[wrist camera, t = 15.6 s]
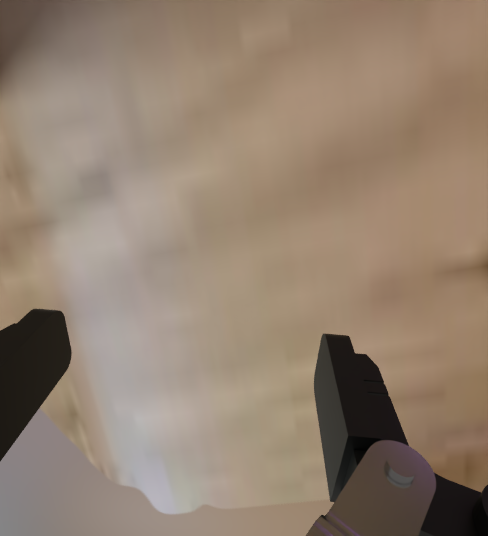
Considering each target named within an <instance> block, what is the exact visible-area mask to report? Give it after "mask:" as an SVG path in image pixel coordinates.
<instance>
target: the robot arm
mask: <svg viewBox="0 0 488 536" xmlns="http://www.w3.org/2000/svg"><path fill="white" fill-rule="evenodd" d="M70 361H71V346H70V341H69V336H68V331H67V327H66V322H65V317H64V314H63V313H62V312H61V311H57V310H45V309H33V310H31V311H30V312H29V313H28V314H27V315H26V316H24V317H23V318H22V319H21V320H20V321H19V322H18V323H17V324H15V323H14V324H12V325H10V326H8V327H6V328H5V329H3V330H1V331H0V461H1V460H2V458H3V457H4V456H5V454H6V453H7V451H8V450H9V449H10V447H11V446H12V445H13V443H14V442H15V441H16V439H17V438H18V436H19V435H20V434H21V432H22V431H23V430H24V428H25V427H26V425H27V424H28V422H29V421H30V420H31V419H32V417H33V416H34V414H35V413H36V412H37V410H38V409H39V408H40V406H41V405H42V403H43V402H44V401H45V399H46V398H47V397H48V395H49V394H50V392H51V391H52V390H53V388H54V387H55V386H56V384H57V383H58V381H59V380H60V379H61V377H62V376H63V375H64V373H65V372H66V370H67V369H68V367H69V364H70ZM314 393H315V400H316V407H317V414H318V421H319V428H320V434H321V441H322V448H323V455H324V462H325V469H326V475H327V482H328V489H329V496H330V501H331V502H334V504H333V506H332V507H331V509H330V510H329V512H328V513H327V514H326V515H325V516H324V515H321V516H320V517H319V518H318V519H317V520H316V521H315V523H314V524H313V526H312V527H311V529H310V530H309V532H308V533H307V535H306V536H488V485H487V486H486V487H485V488H484V490H483V491H482V493H481V492H478V491H476V490H473V489H470V488H468V487H465V486H463V485H460V484H457V483H455V482H452V481H450V480H447V479H445V478H443V477H441V476H439V475H437V474H435V473H434V472H433V470H432V468H431V466H430V465H429V464H428V462H427V461H426V460H425V459H424V458H423V457H422V455H420V454H419V453H418V452H417V451H415V450H414V449H412V448H411V447H409V445H408V442H407V440H406V437H405V435H404V432H403V430H402V427H401V424H400V422H399V419H398V417H397V414H396V412H395V409H394V407H393V404H392V401H391V399H390V397H389V396H388V391H387V389H386V386H385V384H384V381H383V378H382V376H381V373H380V371H379V368H378V367H377V365H376V364H375V363H374V362H373V361H372V360H371V359H370V358H369V357H368V356H367V355H366V354H356V353H355V352H354V349H353V346H352V343H351V340H350V337H349V336H346V335H334V334H323V335H322V338H321V343H320V348H319V353H318V359H317V364H316V369H315V376H314Z"/></svg>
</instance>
